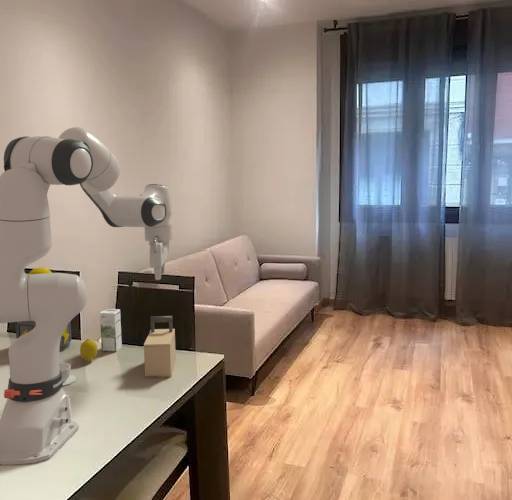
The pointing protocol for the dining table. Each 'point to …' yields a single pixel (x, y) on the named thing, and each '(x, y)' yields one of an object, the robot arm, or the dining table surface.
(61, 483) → the dining table surface
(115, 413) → the dining table surface
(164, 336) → the lid flap
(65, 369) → the teacup
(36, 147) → the robot arm
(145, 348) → the carton
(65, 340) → the decorative lamp
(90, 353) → the lemon
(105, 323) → the syrup box
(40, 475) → the dining table surface
